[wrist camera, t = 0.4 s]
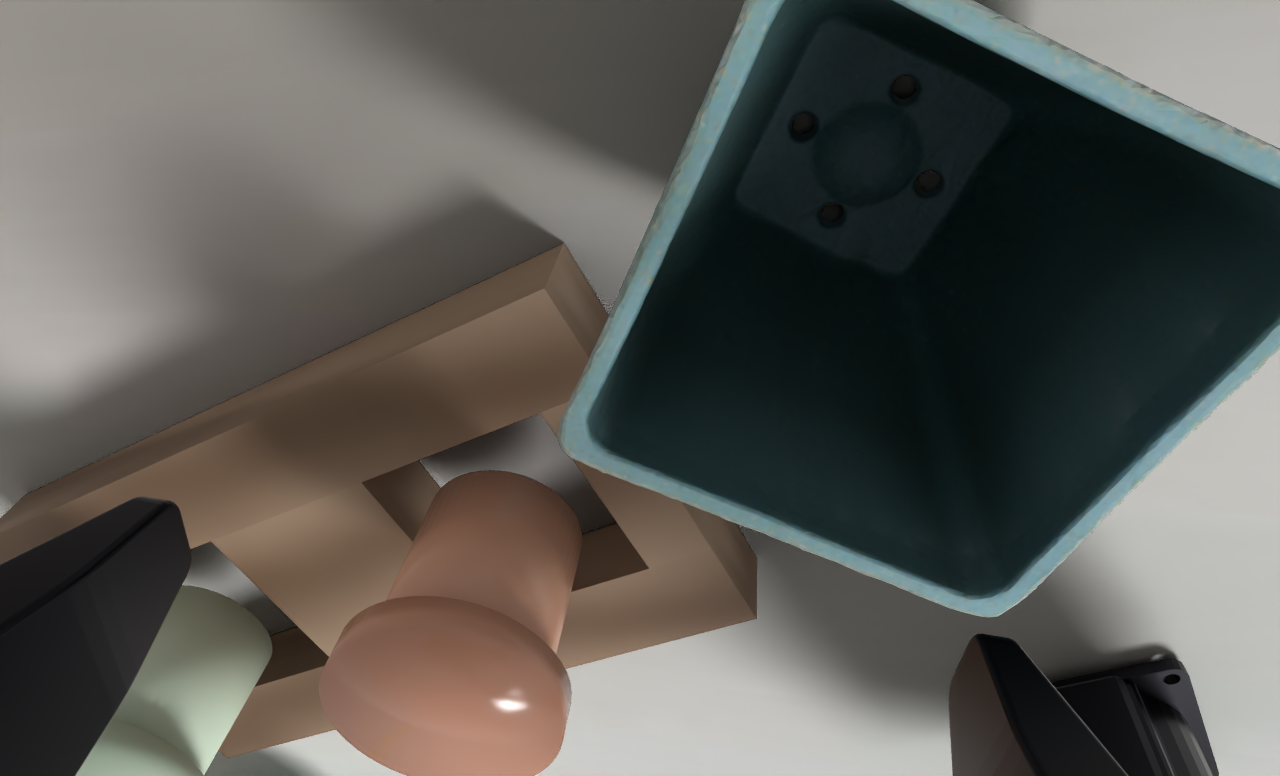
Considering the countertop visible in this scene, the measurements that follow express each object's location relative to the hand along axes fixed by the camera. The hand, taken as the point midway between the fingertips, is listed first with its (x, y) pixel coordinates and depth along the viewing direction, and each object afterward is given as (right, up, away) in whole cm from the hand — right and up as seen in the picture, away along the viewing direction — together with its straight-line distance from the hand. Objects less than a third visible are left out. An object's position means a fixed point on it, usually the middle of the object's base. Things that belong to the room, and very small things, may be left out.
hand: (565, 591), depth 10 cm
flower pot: (+6, +8, +10) cm, 14 cm away
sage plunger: (-13, -6, +19) cm, 24 cm away
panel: (-8, -2, +19) cm, 21 cm away
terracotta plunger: (-3, -2, +15) cm, 15 cm away
